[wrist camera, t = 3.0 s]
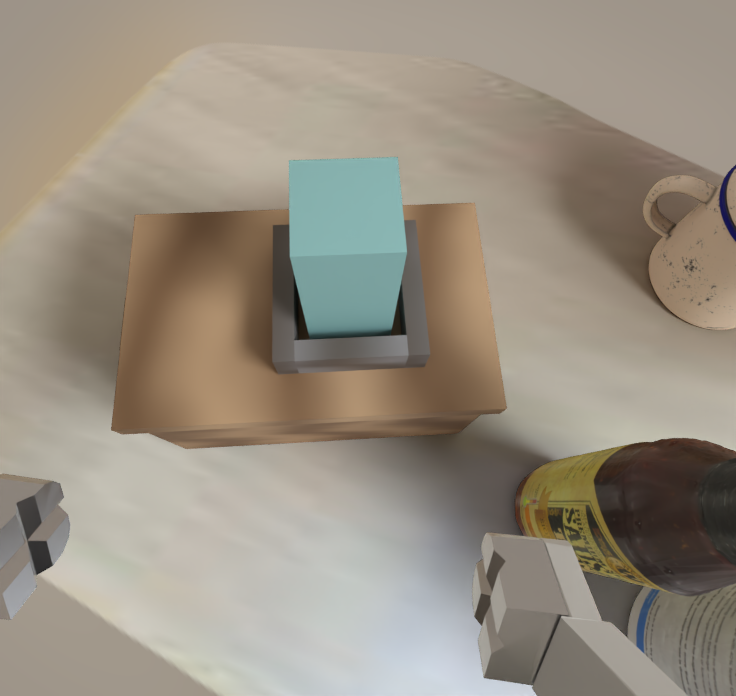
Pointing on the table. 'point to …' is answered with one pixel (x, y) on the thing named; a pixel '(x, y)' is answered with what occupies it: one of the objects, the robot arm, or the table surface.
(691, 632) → the supplement tub
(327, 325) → the teal rectangular block
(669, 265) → the teacup with lid
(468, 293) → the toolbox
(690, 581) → the sauce bottle
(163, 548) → the table surface
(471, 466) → the table surface
